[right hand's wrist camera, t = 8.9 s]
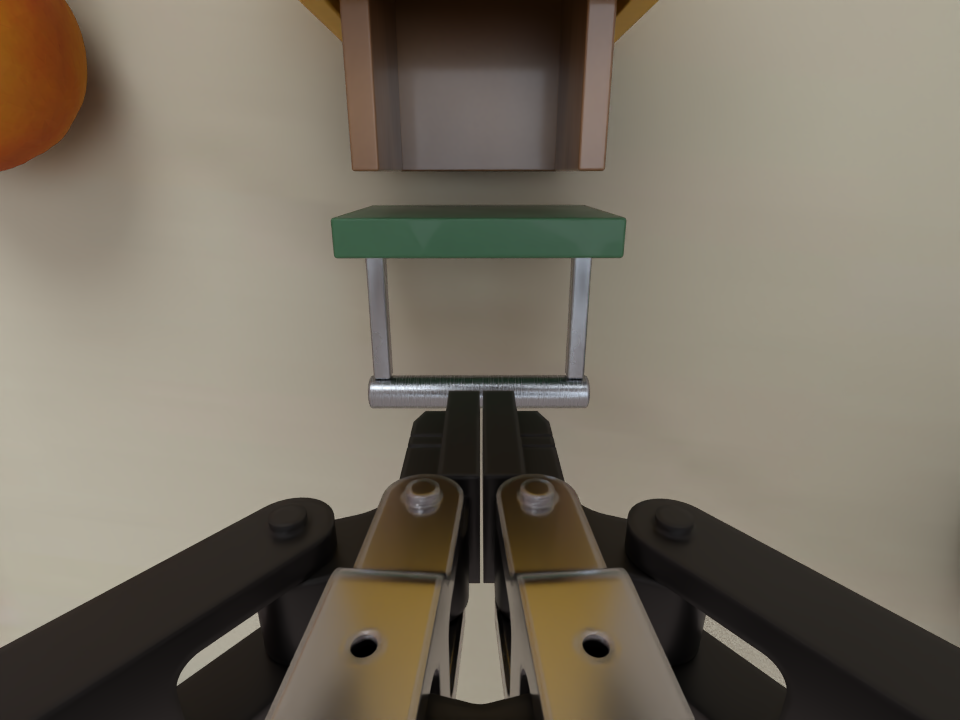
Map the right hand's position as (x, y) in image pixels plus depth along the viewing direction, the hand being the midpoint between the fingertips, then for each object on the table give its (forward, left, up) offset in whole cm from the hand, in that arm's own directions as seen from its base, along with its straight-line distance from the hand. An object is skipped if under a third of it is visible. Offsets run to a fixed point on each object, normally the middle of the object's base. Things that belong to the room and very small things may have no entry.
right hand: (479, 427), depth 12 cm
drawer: (+6, 0, -12) cm, 13 cm away
